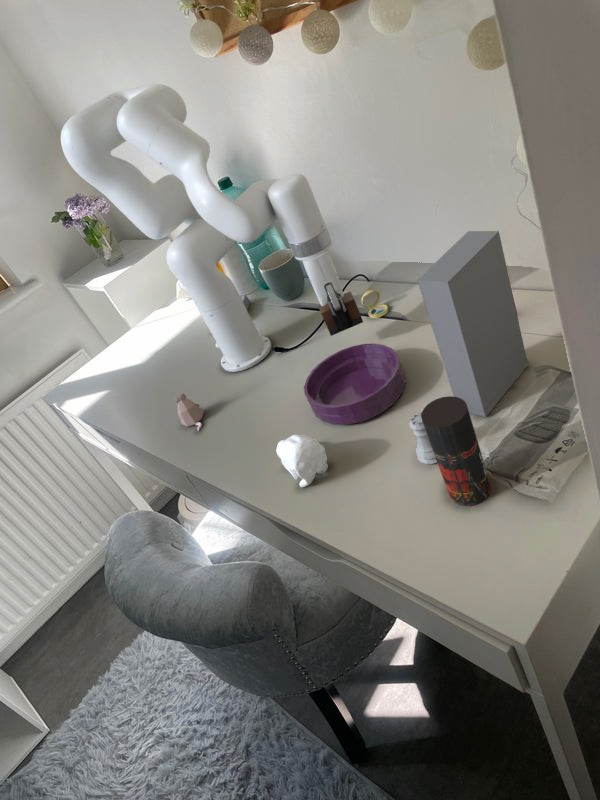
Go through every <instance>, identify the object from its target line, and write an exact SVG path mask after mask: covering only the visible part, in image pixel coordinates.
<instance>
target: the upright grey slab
mask: <svg viewBox="0 0 600 800" xmlns="http://www.w3.org/2000/svg"><path fill="white" fill-rule="evenodd" d="M416 281H417V284H418V287H419V290H420V293H421V296H422V300H423V302H424V306H425V310H426V313H427V316H428V320H429V323H430V325H431V329H432V332H433V334H434V338H435V341H436V345H437V348H438V351H439V354H440V357H441V360H442V363H443V367H444V371H445V373H446V376H447V379H448V383H449V386H450V389H451V392H452V397H458V398H461V399H462V400H464V401H465V402H466V404H467V407H468V411H469V414H470V415H471V414H472V415H476V416H479V417H483V418H486V417H488V415H489V414H490V413H491V411H492V410H493V409H494V407H495V406H496V405H497V404H498V403H499V401H500V400H501V399H502V398H503V397H504V395H505V394H506V393H507V392H508V390H509V389H511V387H512V385H514V383H515V382H516V381H517V379H518V378H519V377H520V376H521V375H522V374H523V372H524V371H525V370H526V369H527V368H528V366H529V365H530V362H529V358H528V357H527V354H526V349H525V345H524V339H523V336H522V330H521V327H520V322H519V318H518V313H517V308H516V303H515V299H514V294H513V291H512V290H513V289H512V286H511V280H510V276H509V271H508V268H507V263H506V258H505V253H504V249H503V244H502V240H501V234H500V231H499V230H468V231H467V232H466V233H464V235H462V237H461V238H459V240H457V241H456V242H455V243H454V244H453V245H452V246H450V248H449V249H448V250H447V251H446V252H445V253H443V255H442V256H440V257H439V258H438V260H436V261H435V262H434V263H433V264H432V265H431V266H430V267H429V268H428V269H427V270H426V271H424V273H423V274H421V276H419V278H418V279H416Z"/></svg>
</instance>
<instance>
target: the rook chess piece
mask: <svg viewBox="0 0 600 800" xmlns="http://www.w3.org/2000/svg"><path fill="white" fill-rule="evenodd" d="M421 414H422V411H417V414H416V413H412V416H410V417H409V423H408V426H409V428H410V429H411V430H413V431H412V433H413V435H414V436H416V441H417V442H416V449H415V454H416V458H417V460H418V461H419V462H420V463H422V464H425V465H434V464H438V463H437V460H436V457H435V455H434V452H433V449H432V446H431V444H430V441H429V438H428V435H427V432H426V430H425V427H424V424H423V421H422V418H421Z"/></svg>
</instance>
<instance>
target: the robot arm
mask: <svg viewBox="0 0 600 800" xmlns="http://www.w3.org/2000/svg"><path fill="white" fill-rule="evenodd" d="M187 115H188V113H187V105H186V103H185V100H184V99H183V97H182V96H181V95H180V94H179V92H178V91H176V89H173V87H170V86H169V85H166V84H160V83H154V84H148V85H144V86H143V85H142V86H139V87H132V88H127V89H122V90H118V91H113V92H112V93H110V94H107V95H105V96H104V97H102V98H100V99H99V100H97V101H95V102H94V103H91V104H89V105H88V106H86V107H84V108H82V109H81V110H79V111H77V112H76V113H75V114H73V115H72V116H71V117H69V119H68V120H66V122H65V123H64V124H63V127H62V129H61V131H60V145H61V149H62V152H63V155H64V157H65V159H66V161H67V163H68V164H69V165H70V167H71V168H72V169H73V170H74V172H75V173H76V174H78V176H79V177H80V178H82V179H83V180H84V181H85V182H86V183H88V184H89V185H91V186H92V187H93V188H94V189H96V190H98V191H99V192H100V193H101V194H102V195H104V197H106V198H107V199H108V200H109V201H110V202H111V203H112V204H113V205H114V206H115V207H116V208H117V209H118V210H119V211H120V212H121V213H122V214H123V215H124V216H125V217H126V218H127V219H128V221H130V222H131V223H132V224H133V225H134V226H135V227H136V228H137V229H138V230H139V231H140V232H142V233H143V234H144V235H145V236H146V237H147V238H149V239H151V240H155V241H159V240H162V239H165V238H166V237H168V236H169V235H170V234H172V233H173V232H174V231H175V230H176V229H177V228H179V226H180V225H182V224H184V225H185V226H186V228H185V229H184V230H182V231H181V233H179V234H178V235H177V236H176V237H175V238H174V239H173V240H172V241H171V242H170V244H169V246H168V248H167V250H166V255H165V257H166V264H167V267H168V268H169V271H170V272H171V273H172V274H173V275H174V277H175V278H176V279H177V280H178V281H179V283H181V285H182V286H183V287H184V290H186V292H187V294H188V295H189V296H190V298H191V300H192V302H193V303H194V305H195V307H196V308H197V310H198V312H199V314H200V315H201V317H202V319H203V321H204V323H205V324H206V326H207V328H208V330H209V332H210V334H211V335H212V337H213V339H214V341H215V348H217V349H219V350H220V352H221V353H222V357H221V359H220V365H221V367H222V368H223V370H225V371H226V372H230V373H236V372H237V373H238V372H242V371H245V370H248V369H250V368H252V367H254V366H256V365H258V364H260V363H261V361H263V360H264V359H265V358H266V357H267V356H268V355H269V353H270V352H271V350H272V342H271V340H270V338H268V337H267V336H266V335H265V336H264V335H260V333H259V331H258V329H257V327H256V325H255V323H254V321H253V320H252V319H253V318H252V317H251V315H250V314H249V311H248V310H247V309H246V307H245V305H244V303H243V301H242V299H241V297H240V296H241V295H240V294H239V292H238V289H237V288H236V285H235V284H234V282H233V280H232V279H231V278H230V277H229V276H228V275H227V274H226V273H224V272H223V271H221V270H220V269H218V266H217V265H218V263H220V261H221V260H222V259H223V258H224V257H225V256H226V255H227V254H228V253H229V251H230V250H231V249H232V248H233V246H234V244H235V242H238V243H241V244H250V243H252V242H255V241H257V239H259V238H260V237H261V236H262V235H263V234H264V232H265V231H266V230H268V228H269V227H270V226H271V225H272V224H273V223H275V222H276V221H277V220H278V222H279V224H280V227H281V229H282V231H283V233H284V236H285V238H286V241H287V243H288V246H289V247H290V249H291V252H292V254H293V257H294V259H295V260H297V261H301V262H302V264H303V267H304V269H305V272H306V274H307V277H308V280H309V282H310V284H311V285H312V288H313V291H314V294H315V295H316V298H317V299H318V303H319V305H321V306H324V305H326V304H327V302H328V304H329V307H330V309H331V311H332V317H333V319H334V321H335V324H336V326H337V328H338V331H339V333H341V332H344V331H346V330H348V329H351V328H354V327H355V326H354V324H353V322H352V320H351V317H350V315H349V312H348V310H347V308H345V306H344V303H343V301H342V298H343V296H344V294H345V293H344V291H343V287H342V284H341V280H340V278H339V274H338V272H337V269H336V266H335V264H334V261H333V259H332V256H331V253H330V250H329V249H330V248H331V247H332V245H333V240H332V238H331V236H330V233H329V231H328V228H327V226H326V223H325V221H324V218H323V215H322V212H321V211H320V208H319V206H318V203H317V200H316V198H315V196H314V193H313V190H312V188H311V186H310V183H309V180H308V179H307V177H306V176H305V175H303V174H301V173H292V174H289V175H286V176H284V177H282V178H277V179H275V178H274V179H273V178H272V179H271V178H270V179H260V180H258V181H255V182H253V183H252V184H251V185H250V186H249V187H247V188H246V189H245V190H244V191H243V192H242V193H241V194H240V195H239V196H238V197H237V198H236V199H235V200H234V199H232V198H231V197H229V196H228V195H227V194H225V193H224V192H223V191H221V190H220V189H219V188H218V187H217V186H216V185H215V183H214V182H213V181H212V179H211V177H210V175H209V172H208V168H207V164H208V161H209V158H210V153H211V147H210V143H209V142H208V140H207V139H205V138H204V137H203V136H201V135H199V134H198V133H197V132H196V131H194V130H193V129H191V128H190V127H189V126H187V125H186V124H185V121H186V119H187ZM126 142H127V143H128V144H130V145H132V147H134V148H135V149H137V150H138V151H139V152H141V153H142V154H144V155H145V156H146V157H148V158H149V159H151V160H152V161H153V162H155V163H156V164H158V165H159V166H160V167H162V168H163V169H165V170H166V171H168V172H169V174H166V175H164V176H162V177H160V178H159V179H157V181H155V182H153V181H151V180H150V179H149V178H147V176H145V175H144V173H142V171H141V170H140V169H139V168H138V167H136V166H135V165H134V164H132V163H131V162H129V161H127V160H125V159H122V158H120V157H117V156H114V155H112V153H111V152H112V151H114V150H115V149H116V148H118V147H120V146H121V145H123V144H124V143H126ZM341 297H342V298H341ZM338 301H340V303H341V304H340V303H339V302H338ZM332 304H333V306H332ZM342 308H343V309H342Z"/></svg>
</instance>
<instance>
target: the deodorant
mask: <svg viewBox="0 0 600 800" xmlns="http://www.w3.org/2000/svg"><path fill="white" fill-rule="evenodd" d="M421 413H422V414H421V418H422V421H423V424H424V427H425V430H426V432H427V435H428V438H429V441H430V444H431V446H432V449H433V452H434V455H435V457H436V460H437V463H436V464H437V465H438V468H439V471H440V474H441V476H442V480H443V482H444V486H445V488H446V491H447V493H448V496H449V498H450V500H451V501H452V502H453V503H455V504H456V505H458V506H462V507H473V506H476V505H479V504H482V503H483V502H484V501H485V500H487V499H488V498H489V497H490V494H491V493H492V484H491V480H490V477H489V474H488V471H487V467H486V464H485V461H484V458H483V454H482V451H481V448H480V444H479V441H478V438H477V434H476V431H475V428H474V424H473V420H472V417H471V413H469V411H468V407H467V404H466V402H465V401H464V400H462V399H461V398H458V397H454V396H452V395H451V396H443V397H439V398H436V399H434V400H432V401H430V402H429V403H428V404H426V405H425V407H423V410H422V411H421Z"/></svg>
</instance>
